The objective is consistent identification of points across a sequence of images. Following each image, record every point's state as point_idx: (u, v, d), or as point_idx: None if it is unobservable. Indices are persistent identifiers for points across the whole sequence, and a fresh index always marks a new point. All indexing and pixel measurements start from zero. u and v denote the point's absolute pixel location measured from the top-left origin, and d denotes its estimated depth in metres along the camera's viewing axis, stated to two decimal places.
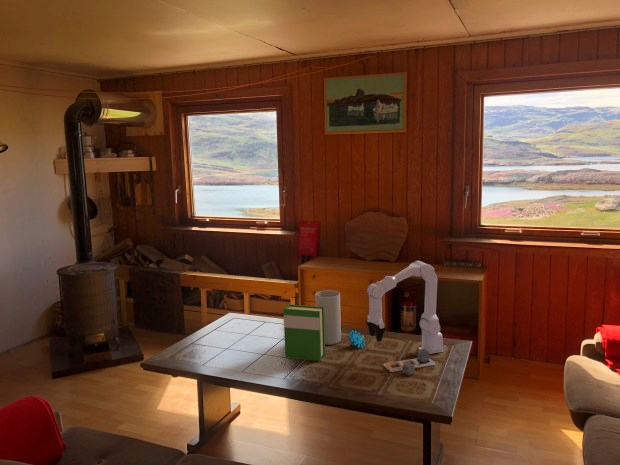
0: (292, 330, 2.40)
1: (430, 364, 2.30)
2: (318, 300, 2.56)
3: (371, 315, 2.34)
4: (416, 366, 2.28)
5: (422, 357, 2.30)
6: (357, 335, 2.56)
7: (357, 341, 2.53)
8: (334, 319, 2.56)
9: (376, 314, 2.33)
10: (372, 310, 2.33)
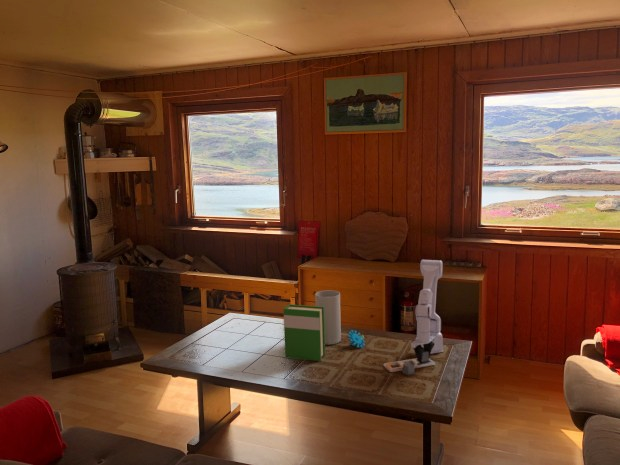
0: (292, 330, 2.40)
1: (430, 364, 2.30)
2: (318, 300, 2.56)
3: None
4: (416, 366, 2.28)
5: (422, 357, 2.30)
6: (357, 335, 2.56)
7: (356, 341, 2.53)
8: (334, 319, 2.56)
9: (417, 333, 2.29)
10: (426, 331, 2.27)
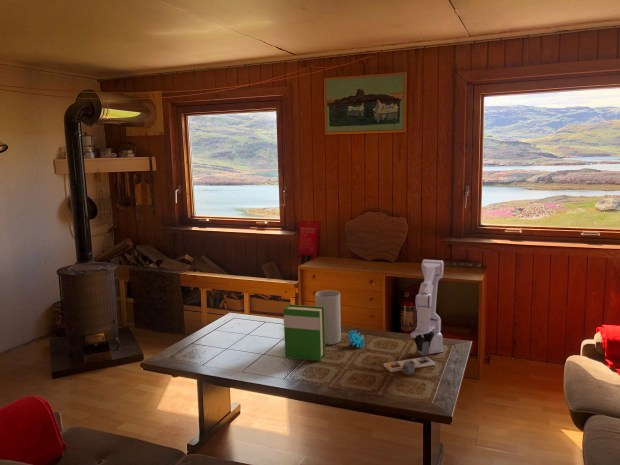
0: (292, 330, 2.40)
1: (430, 364, 2.30)
2: (318, 300, 2.56)
3: None
4: (416, 366, 2.28)
5: (422, 347, 2.29)
6: (357, 335, 2.56)
7: (356, 341, 2.53)
8: (334, 319, 2.56)
9: (417, 323, 2.29)
10: (426, 321, 2.26)
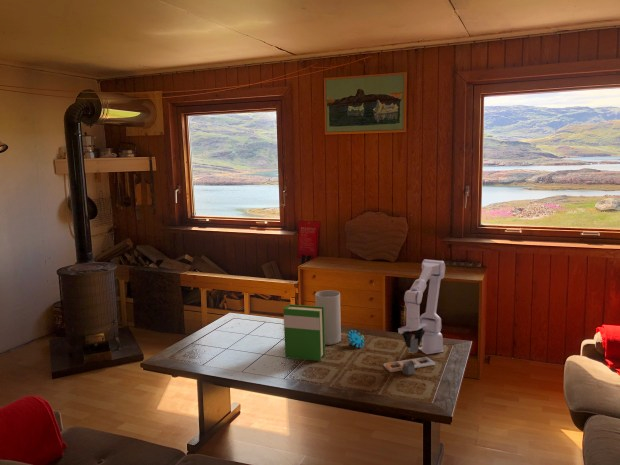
0: (292, 330, 2.40)
1: (430, 364, 2.30)
2: (318, 300, 2.56)
3: None
4: (416, 366, 2.28)
5: (411, 344, 2.28)
6: (356, 335, 2.56)
7: (356, 341, 2.53)
8: (334, 319, 2.56)
9: (406, 319, 2.27)
10: (414, 317, 2.25)
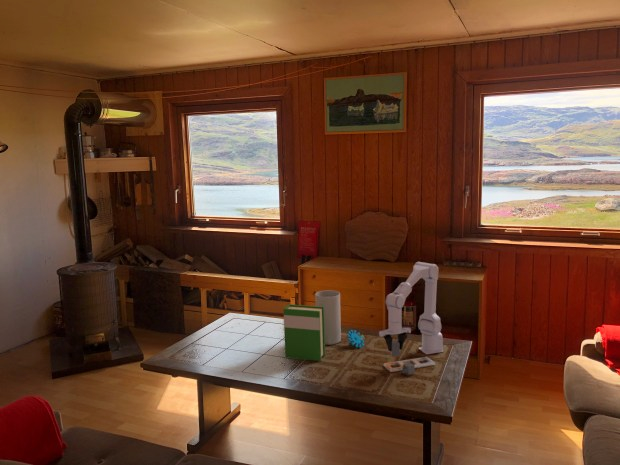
0: (292, 330, 2.40)
1: (430, 364, 2.30)
2: (318, 300, 2.56)
3: None
4: (416, 366, 2.28)
5: (392, 347, 2.25)
6: (356, 335, 2.57)
7: (355, 341, 2.53)
8: (334, 319, 2.56)
9: None
10: (394, 321, 2.22)
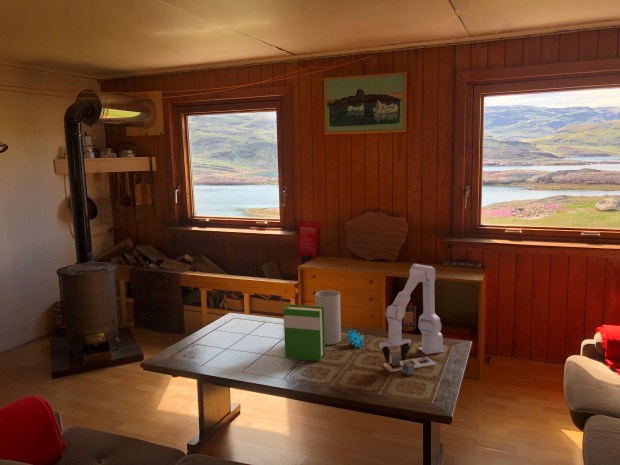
0: (292, 330, 2.40)
1: (430, 364, 2.30)
2: (318, 300, 2.56)
3: None
4: (416, 366, 2.28)
5: (392, 361, 2.26)
6: (356, 334, 2.57)
7: (355, 340, 2.53)
8: (334, 319, 2.56)
9: None
10: (395, 333, 2.23)
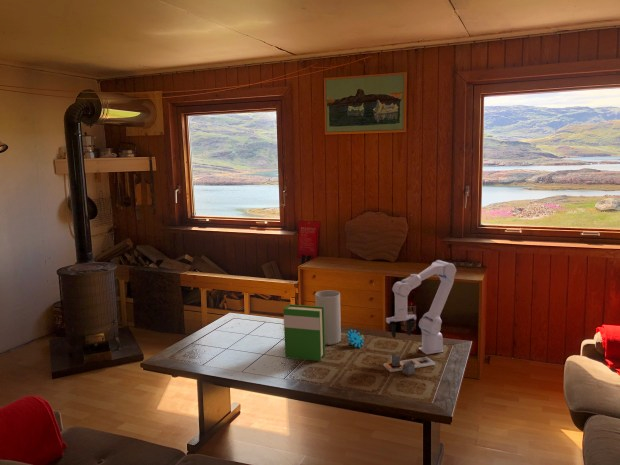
0: (292, 330, 2.40)
1: (430, 364, 2.30)
2: (318, 300, 2.56)
3: None
4: (416, 366, 2.28)
5: (392, 361, 2.26)
6: (356, 334, 2.57)
7: (355, 340, 2.54)
8: (334, 319, 2.56)
9: (395, 309, 2.37)
10: (399, 308, 2.34)
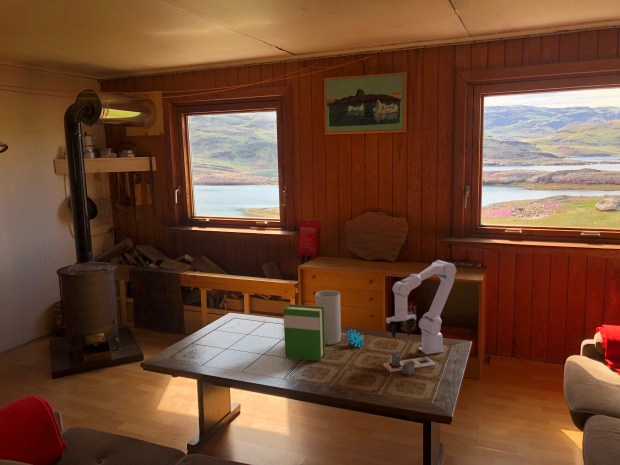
0: (292, 330, 2.40)
1: (430, 364, 2.30)
2: (318, 300, 2.56)
3: None
4: (416, 366, 2.28)
5: (392, 361, 2.26)
6: (356, 334, 2.57)
7: (355, 340, 2.54)
8: (334, 319, 2.56)
9: (395, 309, 2.37)
10: (399, 308, 2.34)
